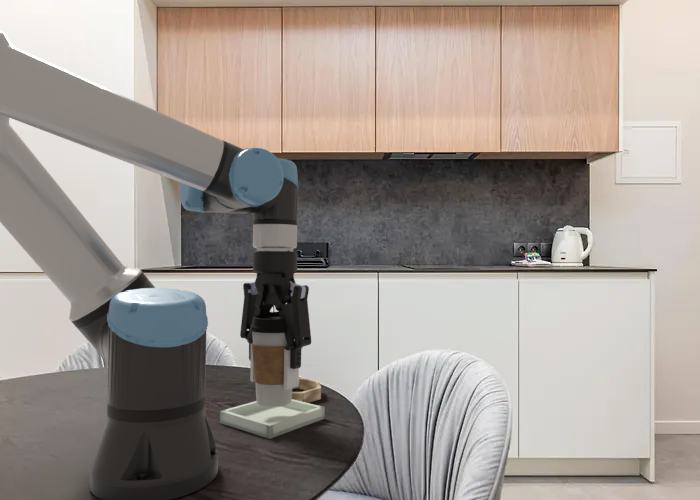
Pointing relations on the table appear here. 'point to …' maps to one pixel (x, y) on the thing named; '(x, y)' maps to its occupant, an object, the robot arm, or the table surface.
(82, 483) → the table surface
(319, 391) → the holder ring
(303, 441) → the table surface
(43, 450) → the table surface
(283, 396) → the coffee cup
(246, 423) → the tray
